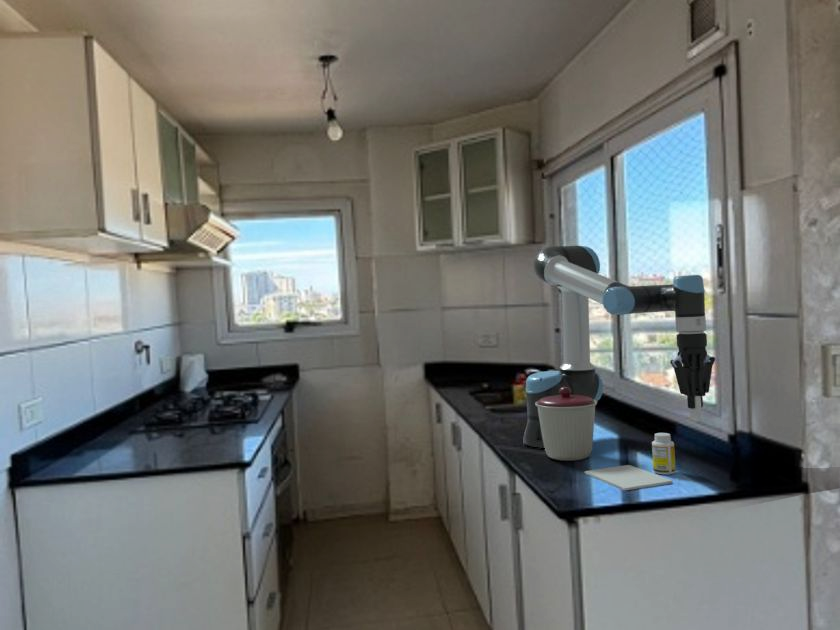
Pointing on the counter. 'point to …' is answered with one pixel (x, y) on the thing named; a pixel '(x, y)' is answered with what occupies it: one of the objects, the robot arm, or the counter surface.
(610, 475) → the mat
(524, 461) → the counter surface
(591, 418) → the canister
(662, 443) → the supplement bottle
